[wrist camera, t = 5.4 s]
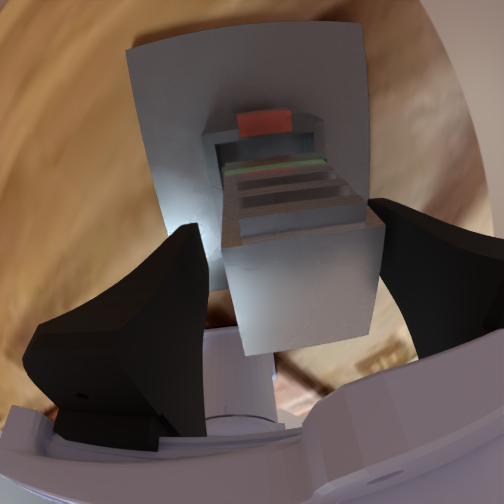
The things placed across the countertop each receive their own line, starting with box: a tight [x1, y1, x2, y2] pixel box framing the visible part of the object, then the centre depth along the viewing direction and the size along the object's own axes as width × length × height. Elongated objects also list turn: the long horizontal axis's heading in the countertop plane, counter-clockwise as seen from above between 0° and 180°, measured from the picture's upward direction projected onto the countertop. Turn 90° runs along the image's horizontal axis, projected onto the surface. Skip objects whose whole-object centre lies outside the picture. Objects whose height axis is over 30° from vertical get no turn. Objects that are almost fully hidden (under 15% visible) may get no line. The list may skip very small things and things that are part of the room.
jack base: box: [125, 21, 370, 291], centre depth 17 cm, size 18×14×5 cm
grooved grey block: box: [221, 152, 386, 356], centre depth 11 cm, size 5×4×7 cm
